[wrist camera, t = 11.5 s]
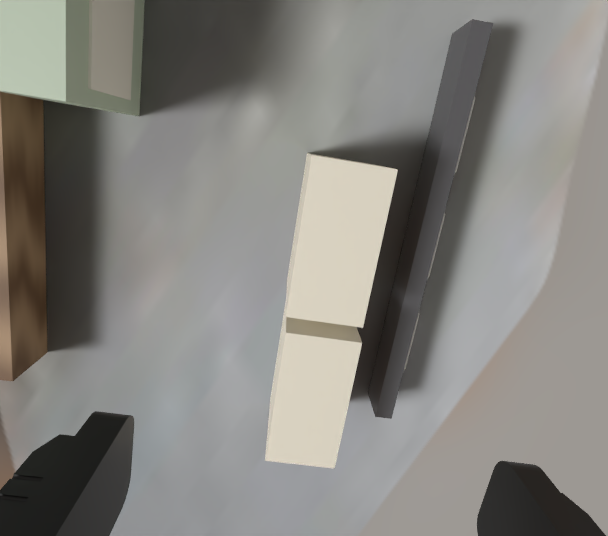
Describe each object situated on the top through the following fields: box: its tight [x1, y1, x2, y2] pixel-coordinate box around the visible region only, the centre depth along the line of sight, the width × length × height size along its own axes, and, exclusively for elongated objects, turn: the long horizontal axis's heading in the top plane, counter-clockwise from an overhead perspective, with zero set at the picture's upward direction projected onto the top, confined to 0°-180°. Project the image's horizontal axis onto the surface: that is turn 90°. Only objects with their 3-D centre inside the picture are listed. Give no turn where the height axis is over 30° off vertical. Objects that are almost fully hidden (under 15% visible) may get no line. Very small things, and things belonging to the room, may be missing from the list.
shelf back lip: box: [0, 92, 47, 381], centre depth 25 cm, size 26×1×4 cm, turn 171°
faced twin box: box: [265, 297, 362, 468], centre depth 28 cm, size 5×9×7 cm, turn 171°
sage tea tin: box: [0, 0, 145, 116], centre depth 21 cm, size 8×5×9 cm, turn 171°
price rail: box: [368, 19, 493, 418], centre depth 28 cm, size 26×2×3 cm, turn 171°
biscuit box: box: [286, 153, 398, 328], centre depth 26 cm, size 5×9×7 cm, turn 171°
